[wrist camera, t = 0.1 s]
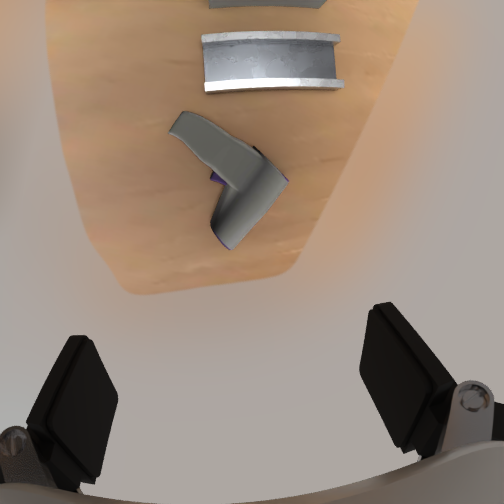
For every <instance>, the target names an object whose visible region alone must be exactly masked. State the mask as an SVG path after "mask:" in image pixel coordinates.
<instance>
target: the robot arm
mask: <svg viewBox="0 0 504 504" xmlns="http://www.w3.org/2000/svg"><path fill="white" fill-rule="evenodd" d="M359 371H360V375H361V378H362V380H363V382H364V384H365V385H366V388H367V389H368V392H369V394H370V395H371V398H372V400H373V402H374V403H375V406H376V408H377V410H378V412H379V414H380V416H381V418H382V420H383V422H384V424H385V426H386V428H387V430H388V432H389V434H390V436H391V438H392V440H393V443H394V445H395V446H396V447H397V448H399V447H400V448H401V450H402V452H403V454H405V453H407V452H410V451H412V450H415V449H416V451H417V453H418V455H419V457H418V460H417V462H416V463H413V464H411V465H408V466H405V467H402V468H400V469H397V470H394V471H391V472H388V473H385V474H382V475H379V476H375V477H372V478H369V479H366V480H362V481H359V482H355V483H352V484H348V485H345V486H340V487H337V488H332V489H328V490H324V491H319V492H315V493H309V494H304V495H299V496H294V497H287V498H280V499H273V500H266V501H256V502H246V503H235V504H504V404H501V403H497V402H494V396H493V394H492V392H491V390H490V389H489V388H488V387H487V386H486V385H484V384H483V383H481V382H478V381H465V382H462V383H460V384H459V385H457V383H456V382H455V381H454V379H453V378H452V376H451V375H450V374H449V372H448V371H447V370H446V368H445V367H444V366H443V365H442V363H441V362H440V361H439V359H438V358H437V357H436V356H435V354H434V353H433V352H432V351H431V349H430V348H429V347H428V346H427V344H426V343H425V342H424V341H423V339H422V338H421V337H420V336H419V335H418V333H417V332H416V331H415V330H414V328H413V327H412V326H411V325H410V323H409V322H408V321H407V320H406V319H405V318H404V316H403V315H402V314H401V313H400V312H399V311H398V309H397V308H396V307H395V306H394V305H393V303H391V302H386V303H380V304H376V305H374V307H373V309H372V310H370V311H369V313H368V320H367V326H366V333H365V339H364V345H363V350H362V356H361V361H360V367H359ZM117 403H118V394H117V391H116V389H115V387H114V386H113V383H112V381H111V379H110V378H109V375H108V373H107V371H106V369H105V367H104V365H103V363H102V361H101V359H100V356H99V354H98V352H97V349H96V347H95V345H94V343H93V341H92V340H90V339H89V338H88V337H87V336H85V335H73V336H70V337H69V339H68V340H67V342H66V344H65V345H64V347H63V349H62V351H61V353H60V354H59V356H58V358H57V360H56V362H55V364H54V365H53V367H52V369H51V371H50V373H49V375H48V377H47V379H46V381H45V383H44V385H43V387H42V389H41V391H40V393H39V395H38V397H37V399H36V401H35V403H34V405H33V407H32V409H31V412H30V414H29V416H28V418H27V420H26V423H27V425H28V426H27V429H25V428H24V427H21V426H12V427H9V428H7V429H5V430H4V431H3V432H2V433H1V434H0V504H153V503H141V502H131V501H123V500H115V499H109V498H102V497H96V496H90V495H84V494H83V492H82V491H81V489H80V482H83V483H89V484H95V481H96V477H99V476H100V474H101V469H102V465H103V460H104V455H105V451H106V447H107V442H108V438H109V434H110V430H111V426H112V422H113V418H114V415H115V410H116V407H117ZM154 504H155V503H154ZM233 504H234V503H233Z"/></svg>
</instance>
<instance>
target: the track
mask: <svg viewBox="0 0 504 504" xmlns="http://www.w3.org/2000/svg"><path fill="white" fill-rule="evenodd" d="M201 36H202V45H203V54H204V69H205V92H206V94H215V93H226V92H240V91H257V90H338V89H342V88H344V80H339V79H336V69H335V58H334V47H333V46H335V45H336V44H338V43H339V42H340V35H339V34H328V33H316V32H297V31H246V32H228V33H215V34H205V35H201Z"/></svg>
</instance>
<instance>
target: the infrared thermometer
mask: <svg viewBox="0 0 504 504" xmlns="http://www.w3.org/2000/svg"><path fill="white" fill-rule="evenodd" d="M168 134H171V135H173V136H176V137H177V138H179V139H180V140H181V141H183V142H184V143H185V144H186V145H187V146H188V147H189V148H190V149H191V150H192V151H193V153H194V154H195V155H196V156H197V157H198V158H199V159H200V160H201V161H202V162H204V163H205V164H206V165H208V166H209V167H210V168H211V169H212V170H213V172H212V174H211V177H210V179H211V180H212V181H216V182H219V183H221V184H223V185H225V187H224V190H223V192H222V194H221V197H220V199H219V202H218V204H217V206H216V209H215V211H214V214H213V216H212V218H211V221H210V223H211V224H210V226H211V228H212V230H213V232H214V234H215V235H216V237H217V238H218V239H219V241H220V242H221V243H222V244H223V245H224V246H225V247H226V248H227V249H229V250H233V249H234V248H235V247H236V246H237V244H238V243H239V242H240V241H241V240H242V239H243V238H244V236H245V235H246V234H247V233H248V232H249V231H250V230H251V229H252V227H253V226H254V225H255V224H256V223H257V222H258V221H259V220H260V219H261V218H262V216H263V215H264V214H265V213H266V212H267V211H268V210H269V208H270V207H271V206H272V204H273V203H274V202H275V200H276V199H277V198H278V196H279V195H280V194H281V192H282V191H283V190H284V188H285V187H286V186H287V184H288V182H289V180H288V179H287V178H286V177H285V176H284V175H283V174H282V173H281V172H280V171H279V170H278V169H277V168H276V167H275V166H274V165H273V164H272V163H271V162H270V161H269V160H268V159H267V158H266V157H265V156H264V155H263V154H262V153H261V152H260V151H259V150H258V149H257V148H256V147H255V146H253V147H250V146H249V145H247V144H246V143H244V142H243V141H242V140H240V139H238V138H235V137H233V136H231V135H230V134H228V133H227V132H226V131H224V130H223V129H222V128H220V127H219V126H217V125H215V124H214V123H212V122H211V121H209V120H207V119H205V118H203V117H201V116H199V115H197V114H194V113H191V112H187V111H183V112H182V113H181V114H180V116H179V117H178V119H177V120H176V121H175V123H174V124H173V126H172V127H171V129H170V131H169V132H168Z"/></svg>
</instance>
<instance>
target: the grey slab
mask: <svg viewBox="0 0 504 504" xmlns="http://www.w3.org/2000/svg"><path fill="white" fill-rule="evenodd" d="M326 1H327V0H209V9H210V8H223V7H241V6H288V7H306V8H320V7H321V6H322V5H323V4H324V3H325V2H326Z"/></svg>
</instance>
